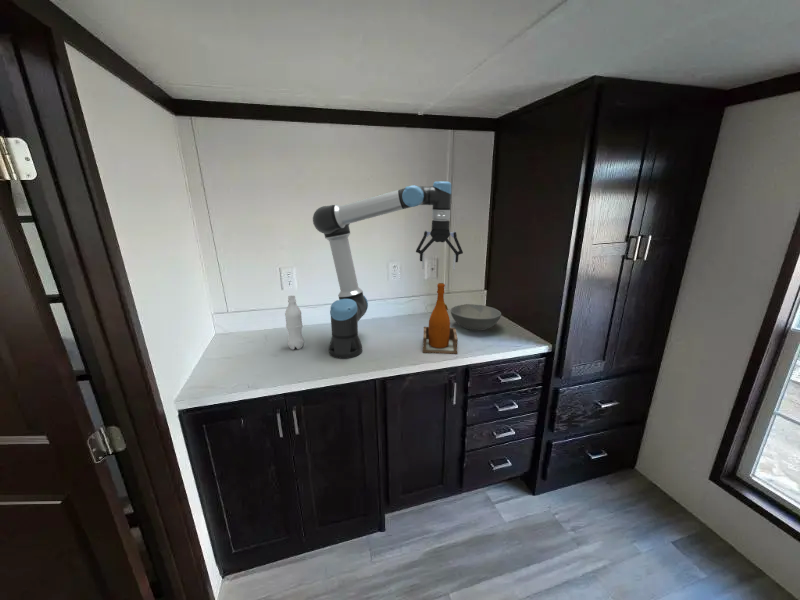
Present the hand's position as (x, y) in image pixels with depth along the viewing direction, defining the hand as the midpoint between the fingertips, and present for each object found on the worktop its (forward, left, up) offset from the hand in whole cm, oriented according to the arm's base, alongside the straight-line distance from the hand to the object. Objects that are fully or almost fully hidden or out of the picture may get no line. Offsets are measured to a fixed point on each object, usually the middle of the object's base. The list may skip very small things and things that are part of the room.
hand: (438, 269), depth 152 cm
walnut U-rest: (+2, 0, -37) cm, 37 cm away
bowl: (+22, +25, -38) cm, 50 cm away
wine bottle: (+1, -1, -37) cm, 37 cm away
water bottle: (-65, -7, -38) cm, 75 cm away
